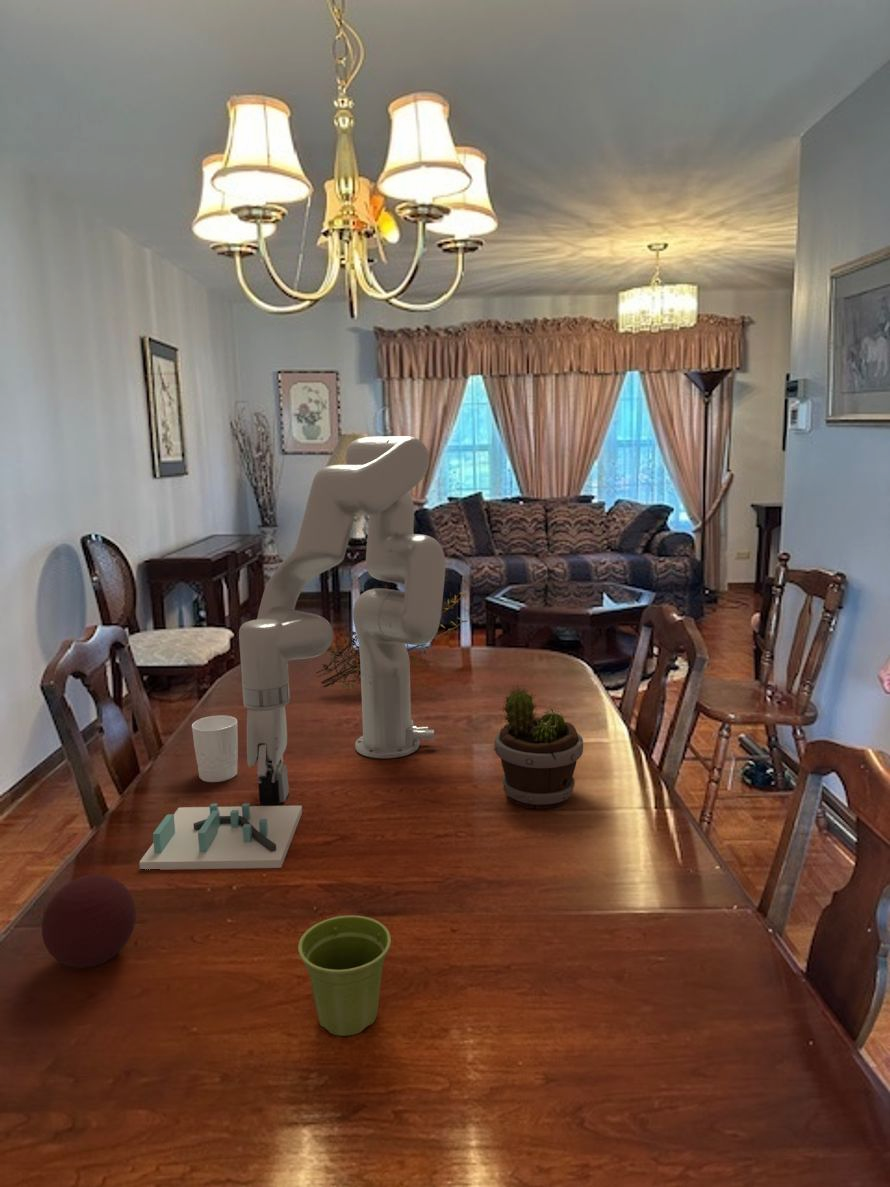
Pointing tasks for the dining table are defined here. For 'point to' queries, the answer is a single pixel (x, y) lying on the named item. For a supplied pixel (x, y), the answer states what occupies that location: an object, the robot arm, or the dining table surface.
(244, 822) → the cable
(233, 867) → the board
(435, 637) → the dried plant
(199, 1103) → the dining table surface
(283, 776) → the block
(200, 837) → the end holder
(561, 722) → the flowerpot
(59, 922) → the decorative ball
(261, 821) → the clips
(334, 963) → the plant pot
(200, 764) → the white cup
